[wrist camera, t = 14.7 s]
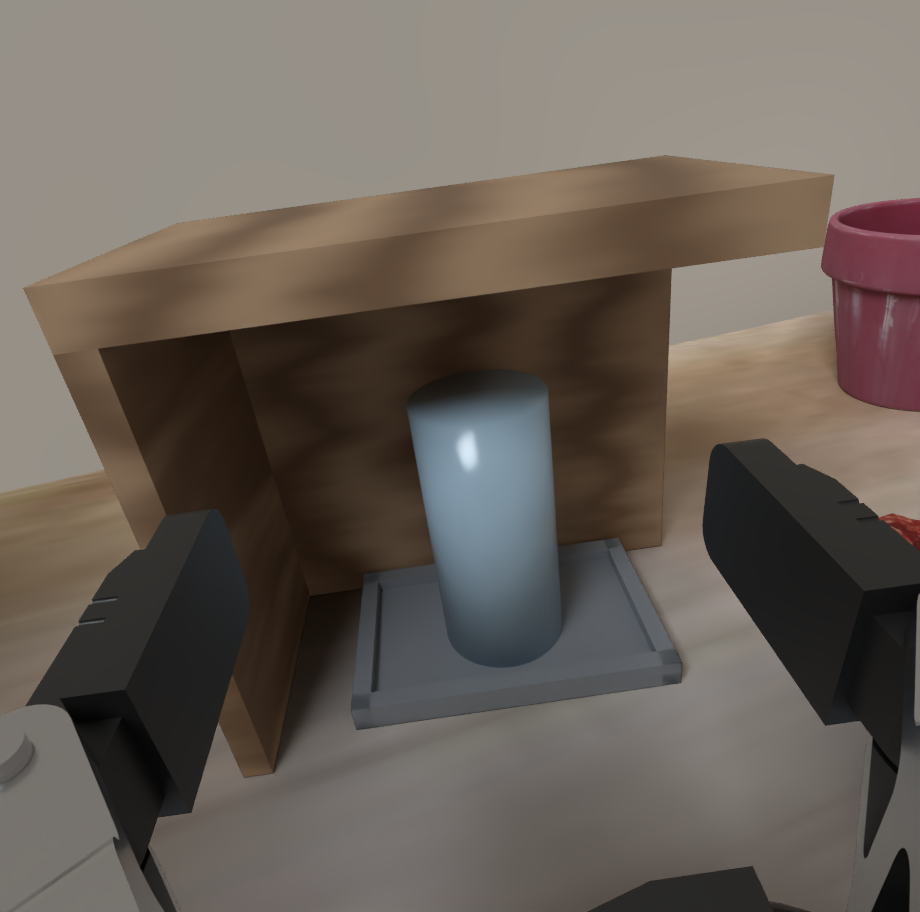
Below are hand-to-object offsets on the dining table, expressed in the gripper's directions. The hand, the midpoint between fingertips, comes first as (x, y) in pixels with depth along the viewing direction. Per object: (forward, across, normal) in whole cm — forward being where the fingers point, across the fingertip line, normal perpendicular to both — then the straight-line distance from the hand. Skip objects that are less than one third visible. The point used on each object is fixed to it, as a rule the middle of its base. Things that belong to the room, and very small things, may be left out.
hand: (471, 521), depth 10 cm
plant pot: (+33, -36, +17) cm, 52 cm away
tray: (+14, -2, +17) cm, 22 cm away
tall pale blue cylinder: (+14, -2, +16) cm, 21 cm away
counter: (+14, 0, +17) cm, 22 cm away
